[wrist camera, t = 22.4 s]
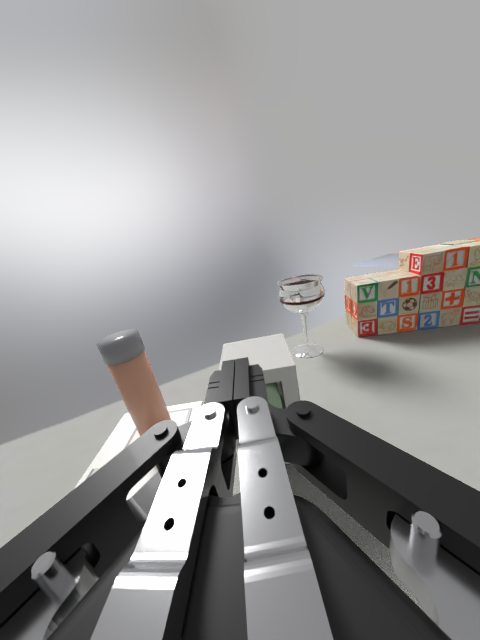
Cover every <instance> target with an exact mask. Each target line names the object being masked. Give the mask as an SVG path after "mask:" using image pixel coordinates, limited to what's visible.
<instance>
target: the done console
mask: <svg viewBox="0 0 480 640" xmlns="http://www.w3.org/2000/svg"><path fill="white" fill-rule="evenodd" d="M245 357H248V359H249V364H250V365H255V364H258V365H259V366H260V367H261V368H262V369H263V375H264V380H265V384H267V383H273V382H277V385H278V389H279V394H280V398H281V403H282V409H287V407H288V406H289V405H290V404H291V403H293V402H296V401H300V395H299V388H298V381H297V373H296V366H295V363H294V361H293V358H292V356H291V353H290V351H289V348H288V346H287V343H286V341H285V338H284V336H283V333H281V334H276V335H271V336H265V337H259V338H254V339H248V340H243V341H237V342H231V343H226V344H224V345H223V351H222V356H221V361H220V366H219V370H221V367H222V362H223V361H227V360H233V359H235V360H236V359H239V358H245ZM238 444H240V443H239V439H238V440H236V447H237V451H238ZM284 463H285V464H292V463H288V462H284Z"/></svg>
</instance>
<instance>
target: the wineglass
mask: <svg viewBox="0 0 480 640" xmlns="http://www.w3.org/2000/svg"><path fill="white" fill-rule="evenodd" d="M322 278H323V276H321V275H318V274H308V275H299V276H294V277H290V278H286V279H284V280H281V281H279V282H278V283H277V284H278V285H279V287H280V288H281V289H280V291H279V299H280V302H281V303H282V305H283V306H284V307H285V308H287V309H288V310H290V311H291V312H295V313H298V314H299V315H300V316H301V318H302V324H303V330H304V336H305V342H306V343H304V344H300V345H298V346H296V347H295V348H294V349H293V353H294V355H296V356H298V357H303V358H310V357H315V356H318V355H320V354H321V353H322V352H323V347H322V346H320V345H318V344H315V343H308V334H307V320H306V315H307V314H308V313H309V312H310V311H311V310H314V309H315V308H316V307H317V306H318V305H319V304H320V303H321V302H322V300H323V297H324V287H323V285H322V284H321V280H322Z"/></svg>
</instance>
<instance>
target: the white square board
mask: <svg viewBox="0 0 480 640" xmlns="http://www.w3.org/2000/svg"><path fill="white" fill-rule="evenodd" d="M202 406H203V402H202V401H199V402H193V403H187V404H180V405H174V406H168V407H167V410H168V412H169V415H170V417H171V420H173V421H175V422H176V424H177V426H180V425H183V424H185V423H188V422H190V421H192V420H193V419H194V416H195V414H196V412H197V410H198V409H199V408H200V407H202ZM139 437H140V435H139V433H138V431H137V429H136V426H135V424H134V422H133V420H132V418H131V415H130V413H125V414H124V416H123V417H122V419H121V420H120V422H119V423H118V425H117V426H116V428H115V429H114V430H113V432H112V433H111V435H110V436H109V438H108V439H107V441H106V442H105V444H104V445H103V447H102V448H101V450H100V451H99V453H98V454H97V456H96V457H95V459H94V460H93V462H92V463H91V465H90V466H89V468H88V469H87V471H86V472H85V473H84V475H83V476H82V478H81V479H80V481H79V482H78V484H77V485H76V487H78V486H79V485H80V484H81V483H83V482H84V481H85V480H86V479H88V478H89V477H90V476H91V475H92V474H94V473H95V472H96V471H97V470H99V469H100V468H101V467H102V466H104V465H105V464H106V463H107V462H109V461H110V460H111V459H112V458H114V457H115V456H116V455H117V454H119V453H120V452H121V451H122V450H124V449H125V448H126V447H127V446H129V445H130V444H131V443H132V442H134V441H135V440H136V439H137V438H139ZM157 472H158V469H157V467H156V466H155V467H154V468H153V469H152V470H151V471H149V472H148V473H147V474H146V475H145V476H144V477H143V478H142V479H141V480H140V481H139V482H138V483H137V484H136V485H135V486H134V487H133V488H132V489H131V490H130V491H129V493H128V495H127V498H126V500H128V499H130V498H131V497H132V496H133V495H134V494H135V493H136V492H137V491H138V490H139V489H140V488H141V487H142V486H143V485H144V484H145V483H146V482H147V481H148V480H149V479H151V478H152V477H153V476H154V475H155V474H156V473H157ZM76 487H75V488H76ZM75 488H74V489H75Z"/></svg>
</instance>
